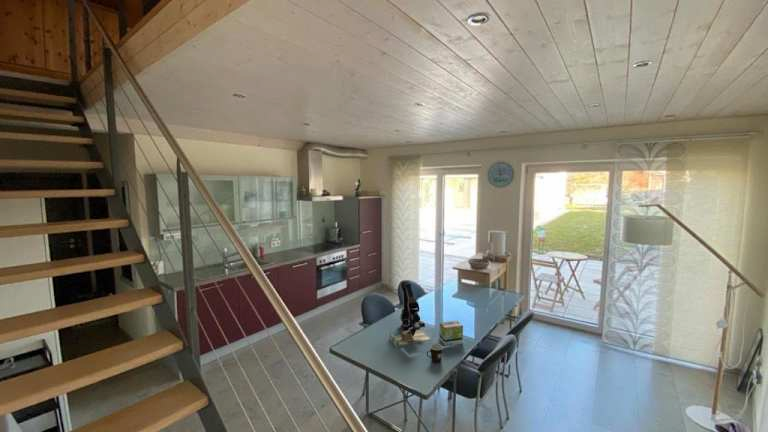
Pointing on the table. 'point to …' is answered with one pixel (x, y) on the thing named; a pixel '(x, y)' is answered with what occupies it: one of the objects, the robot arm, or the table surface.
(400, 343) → the trap board
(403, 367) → the table surface
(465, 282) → the table surface
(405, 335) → the walnut block
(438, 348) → the coffee mug
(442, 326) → the tea box
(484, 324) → the table surface
